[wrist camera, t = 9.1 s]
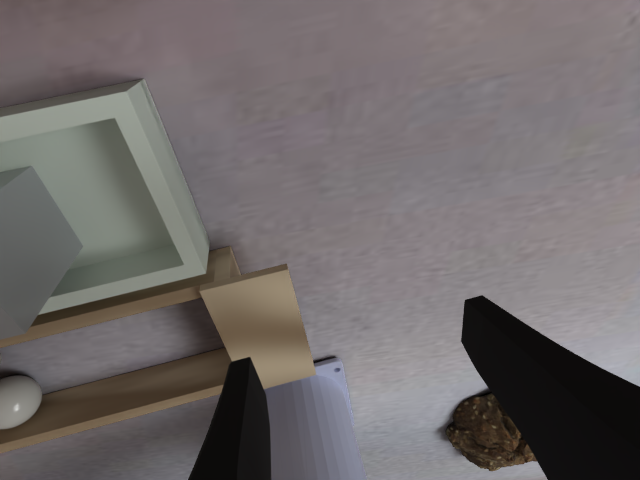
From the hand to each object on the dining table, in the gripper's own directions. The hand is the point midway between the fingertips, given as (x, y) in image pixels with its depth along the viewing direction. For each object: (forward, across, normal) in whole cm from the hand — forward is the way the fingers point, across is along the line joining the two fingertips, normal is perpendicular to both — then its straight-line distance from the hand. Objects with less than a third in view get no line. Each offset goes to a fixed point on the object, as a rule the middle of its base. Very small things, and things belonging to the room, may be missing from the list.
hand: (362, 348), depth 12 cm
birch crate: (+10, +14, +6) cm, 18 cm away
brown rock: (+11, -15, +29) cm, 35 cm away
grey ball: (+10, +20, +8) cm, 24 cm away
